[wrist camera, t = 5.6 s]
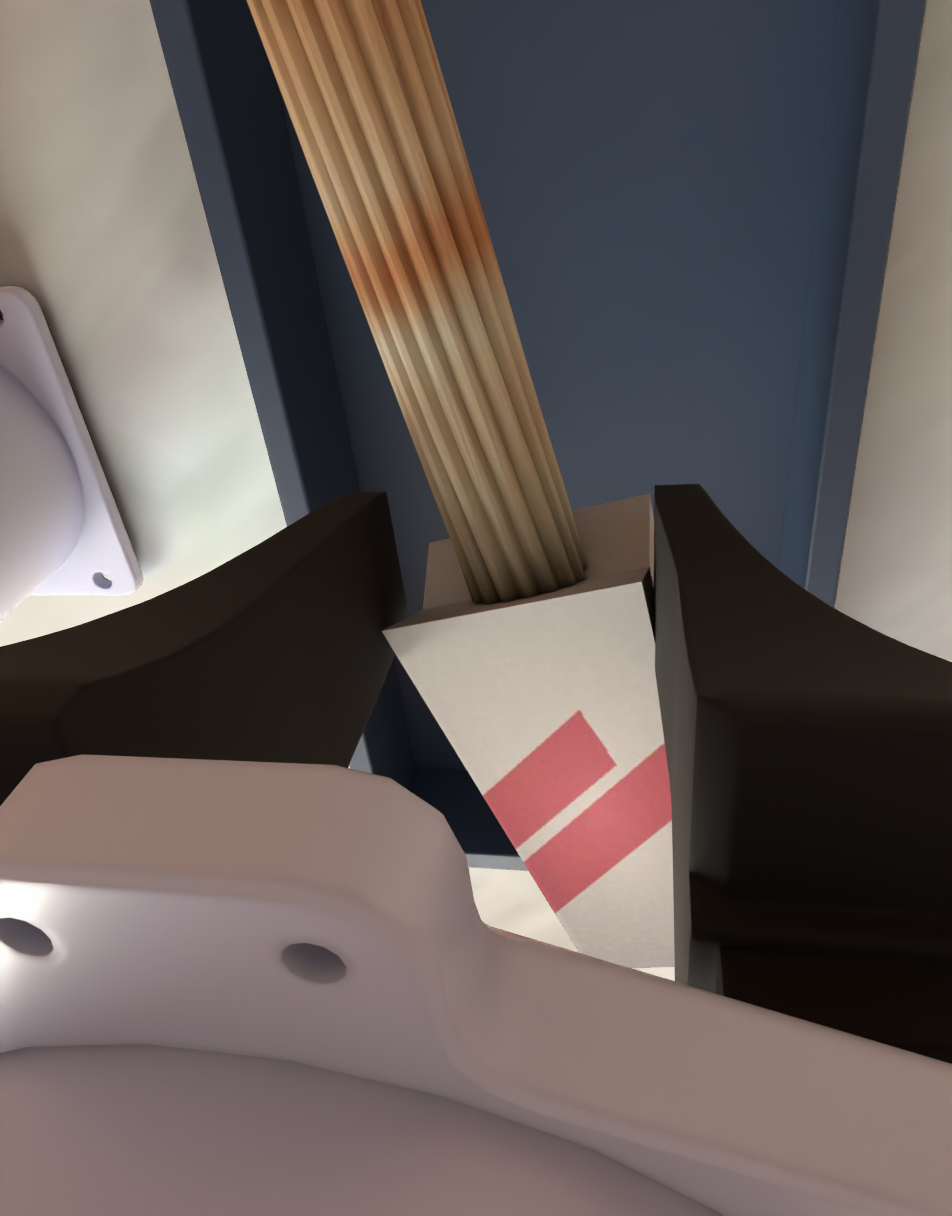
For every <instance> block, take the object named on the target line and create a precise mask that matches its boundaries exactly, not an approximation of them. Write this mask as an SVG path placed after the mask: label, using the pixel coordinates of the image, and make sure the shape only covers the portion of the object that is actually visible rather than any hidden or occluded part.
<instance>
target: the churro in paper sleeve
mask: <svg viewBox="0 0 952 1216" xmlns="http://www.w3.org/2000/svg"><path fill="white" fill-rule="evenodd" d="M247 3H248V6H249V8H250V11H251V14H252V16H253V19H254V22H255V24H256V27H257V30H258V32H259V35H260V37H261V40H262V43H263V45H264V48H265V51H266V53H267V56H268V59H269V61H270V64H271V67H272V69H273V72H274V75H275V77H276V80H277V83H278V85H279V88H280V91H281V93H282V96H283V99H284V101H285V104H286V107H287V109H288V112H289V115H290V117H291V120H292V123H293V125H294V128H295V131H296V133H297V136H298V139H299V141H300V144H301V147H302V149H303V152H304V155H305V157H306V160H307V163H308V165H309V168H310V171H311V173H312V176H313V179H314V181H315V184H316V186H317V189H318V192H319V194H320V197H321V200H322V202H323V205H324V208H325V210H326V213H327V216H328V218H329V221H330V223H331V226H332V229H333V231H334V234H335V237H336V239H337V242H338V245H339V247H340V250H341V253H342V255H343V258H344V260H345V263H346V266H347V268H348V271H349V274H350V276H351V279H352V282H353V284H354V287H355V289H356V292H357V295H358V297H359V300H360V303H361V305H362V308H363V311H364V313H365V316H366V319H367V321H368V324H369V326H370V329H371V332H372V334H373V337H374V340H375V342H376V345H377V348H378V350H379V353H380V356H381V358H382V361H383V363H384V366H385V369H386V371H387V374H388V377H389V379H390V382H391V385H392V387H393V390H394V393H395V395H396V398H397V400H398V403H399V406H400V408H401V411H402V414H403V416H404V419H405V422H406V424H407V427H408V430H409V432H410V435H411V437H412V440H413V443H414V445H415V448H416V451H417V453H418V456H419V459H420V461H421V464H422V466H423V469H424V472H425V474H426V477H427V480H428V482H429V485H430V488H431V490H432V493H433V495H434V498H435V500H436V503H437V506H438V508H439V511H440V513H441V516H442V518H443V521H444V524H445V526H446V529H447V531H448V534H449V536H450V538H449V539H444V540H440V541H436V542H431V543H429V550H428V561H427V571H426V581H425V592H424V602H423V609H422V610H420V611H419V612H417V613H415V614H413V615H411V616H409V617H407V618H405V619H403V620H402V621H400V622H398V623H396V624H394V625H392V626H390V627H388V628H386V629H385V630H383V631H382V633H383V634H384V636H385V637H386V639H387V641H388V642H389V644H390V646H391V647H392V649H393V650H394V652H395V654H396V655H397V657H398V659H399V660H400V662H401V664H402V665H403V667H404V668H405V670H406V672H407V673H408V675H409V677H410V678H411V680H412V681H413V683H414V685H415V686H416V688H417V690H418V691H419V693H420V694H421V696H422V698H423V699H424V701H425V703H426V704H427V706H428V708H429V709H430V711H431V712H432V714H433V716H434V717H435V719H436V721H437V722H438V724H439V725H440V727H441V729H442V730H443V732H444V734H445V735H446V737H447V738H448V740H449V742H450V743H451V745H452V747H453V748H454V750H455V751H456V753H457V755H458V756H459V758H460V760H461V761H462V763H463V765H464V766H465V768H466V769H467V771H468V773H469V774H470V776H471V778H472V779H473V781H474V782H475V784H476V786H477V787H478V789H479V791H480V792H481V794H482V795H483V797H484V799H485V800H486V802H487V804H488V805H489V807H490V808H491V810H492V812H493V813H494V815H495V817H496V818H497V820H498V822H499V823H500V825H501V826H502V828H503V830H504V831H505V833H506V835H507V836H508V838H509V839H510V841H511V843H512V844H513V846H514V848H515V849H516V851H517V852H518V854H519V856H520V857H521V859H522V861H523V862H524V864H525V865H526V867H527V869H528V870H529V872H530V874H531V875H532V877H533V879H534V880H535V882H536V883H537V885H538V887H539V888H540V890H541V892H542V893H543V895H544V896H545V898H546V900H547V901H548V903H549V905H550V906H551V908H552V909H553V911H554V913H555V914H556V916H557V918H558V919H559V921H560V923H561V924H562V926H563V927H564V929H565V931H566V932H567V934H568V936H569V937H570V939H571V940H572V942H573V944H574V945H575V947H576V949H577V950H578V952H579V953H581V954H584V955H588V956H591V957H594V958H598V959H601V960H604V961H608V962H611V963H615V964H618V965H621V966H625V967H628V968H650V967H673V966H675V955H674V900H673V850H672V806H671V793H670V781H669V772H668V765H667V757H666V750H665V742H664V735H663V727H662V720H661V712H660V705H659V697H658V689H657V682H656V674H655V635H654V517H653V511H652V505H651V498H650V494H645V495H641V496H636V497H632V498H628V499H623V500H619V501H614V502H610V503H605V504H601V505H596V506H592V507H587V508H583V509H578V510H574V511H572V510H571V506H570V502H569V499H568V496H567V492H566V489H565V486H564V483H563V479H562V476H561V473H560V470H559V466H558V463H557V460H556V457H555V453H554V450H553V447H552V444H551V441H550V437H549V434H548V431H547V428H546V424H545V421H544V418H543V415H542V411H541V408H540V405H539V402H538V398H537V395H536V392H535V389H534V386H533V382H532V379H531V376H530V373H529V369H528V366H527V362H526V358H525V355H524V351H523V348H522V344H521V341H520V337H519V334H518V330H517V327H516V323H515V320H514V316H513V313H512V309H511V306H510V303H509V299H508V296H507V292H506V289H505V286H504V282H503V279H502V276H501V272H500V269H499V265H498V262H497V259H496V255H495V252H494V248H493V245H492V242H491V238H490V235H489V231H488V228H487V225H486V221H485V218H484V214H483V211H482V208H481V204H480V201H479V197H478V194H477V191H476V187H475V184H474V180H473V177H472V174H471V170H470V167H469V163H468V160H467V157H466V153H465V150H464V146H463V143H462V140H461V136H460V133H459V129H458V126H457V123H456V119H455V116H454V112H453V109H452V106H451V102H450V99H449V95H448V92H447V89H446V85H445V82H444V78H443V75H442V72H441V68H440V65H439V61H438V58H437V55H436V51H435V48H434V44H433V41H432V38H431V34H430V31H429V27H428V24H427V21H426V17H425V14H424V10H423V7H422V4H421V0H247Z"/></svg>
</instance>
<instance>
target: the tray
mask: <svg viewBox="0 0 952 1216" xmlns="http://www.w3.org/2000/svg"><path fill="white" fill-rule="evenodd" d="M926 2H927V0H421V4H422V7H423V10H424V14H425V17H426V21H427V24H428V27H429V31H430V34H431V38H432V41H433V44H434V48H435V51H436V55H437V58H438V61H439V65H440V68H441V72H442V75H443V78H444V82H445V85H446V89H447V92H448V95H449V99H450V102H451V106H452V109H453V112H454V116H455V119H456V123H457V126H458V129H459V133H460V136H461V140H462V143H463V146H464V150H465V153H466V157H467V160H468V163H469V167H470V170H471V174H472V177H473V180H474V184H475V187H476V191H477V194H478V197H479V201H480V204H481V208H482V211H483V214H484V218H485V221H486V225H487V228H488V231H489V235H490V238H491V242H492V245H493V248H494V252H495V255H496V259H497V262H498V265H499V269H500V272H501V276H502V279H503V282H504V286H505V289H506V292H507V296H508V299H509V303H510V306H511V309H512V313H513V316H514V320H515V323H516V327H517V330H518V334H519V337H520V341H521V344H522V348H523V351H524V355H525V358H526V362H527V366H528V369H529V373H530V376H531V379H532V382H533V386H534V389H535V392H536V395H537V398H538V402H539V405H540V408H541V411H542V415H543V418H544V421H545V424H546V428H547V431H548V434H549V437H550V441H551V444H552V447H553V450H554V453H555V457H556V460H557V463H558V466H559V470H560V473H561V476H562V479H563V483H564V486H565V489H566V492H567V496H568V499H569V502H570V506H571V510H572V511H574V510H578V509H583V508H587V507H592V506H596V505H601V504H605V503H610V502H614V501H619V500H623V499H628V498H632V497H636V496H641V495H645V494H650V498H651V505H652V511H653V517H654V495H655V485H677V484H699V485H700V486H701V487H702V488H703V489H704V490H705V491H706V492H707V493H708V494H709V496H710V497H711V498H712V500H713V501H714V502H715V504H716V505H717V506H718V508H719V509H720V510H721V511H722V512H723V514H724V515H725V516H726V517H727V518H728V520H729V521H730V522H731V523H732V524H733V525H734V527H735V528H736V529H737V530H738V531H739V532H740V533H741V534H742V535H743V536H744V537H745V538H746V539H747V540H748V541H749V542H750V544H751V545H752V546H753V547H754V548H755V549H756V550H757V551H758V552H759V553H760V554H761V555H762V556H764V557H765V558H766V559H767V560H768V561H769V562H770V563H772V564H773V565H774V566H775V567H776V568H777V569H779V570H780V571H781V572H782V573H783V574H785V575H786V576H787V577H789V578H790V579H791V580H793V581H794V582H795V583H797V584H798V585H799V586H801V587H802V588H804V589H805V590H807V591H808V592H810V593H811V594H813V595H814V596H816V597H817V598H819V599H820V600H822V601H823V602H825V603H826V604H828V605H830V606H831V607H833V608H834V607H835V600H836V594H837V587H838V580H839V574H840V567H841V561H842V554H843V548H844V541H845V534H846V528H847V521H848V515H849V508H850V502H851V495H852V488H853V482H854V475H855V469H856V462H857V456H858V449H859V442H860V436H861V429H862V423H863V416H864V410H865V403H866V396H867V390H868V383H869V377H870V370H871V363H872V357H873V350H874V344H875V337H876V331H877V324H878V317H879V311H880V304H881V298H882V291H883V285H884V278H885V271H886V265H887V258H888V252H889V245H890V239H891V232H892V225H893V219H894V212H895V206H896V199H897V193H898V186H899V179H900V173H901V166H902V160H903V153H904V147H905V140H906V133H907V127H908V120H909V114H910V107H911V100H912V94H913V87H914V81H915V74H916V68H917V61H918V54H919V48H920V41H921V35H922V28H923V22H924V15H925V8H926ZM150 4H151V8H152V11H153V15H154V19H155V23H156V27H157V31H158V34H159V38H160V42H161V46H162V50H163V53H164V57H165V61H166V65H167V69H168V73H169V76H170V80H171V84H172V88H173V92H174V96H175V99H176V103H177V107H178V111H179V115H180V118H181V122H182V126H183V130H184V134H185V138H186V141H187V145H188V149H189V153H190V157H191V161H192V164H193V168H194V172H195V176H196V180H197V183H198V187H199V191H200V195H201V199H202V203H203V206H204V210H205V214H206V218H207V222H208V226H209V229H210V233H211V237H212V241H213V245H214V249H215V252H216V256H217V260H218V264H219V268H220V271H221V275H222V279H223V283H224V287H225V291H226V294H227V298H228V302H229V306H230V310H231V314H232V317H233V321H234V325H235V329H236V333H237V336H238V340H239V344H240V348H241V352H242V356H243V359H244V363H245V367H246V371H247V375H248V379H249V382H250V386H251V390H252V394H253V398H254V401H255V405H256V409H257V413H258V417H259V421H260V424H261V428H262V432H263V436H264V440H265V444H266V447H267V451H268V455H269V459H270V463H271V467H272V470H273V474H274V478H275V482H276V486H277V489H278V493H279V497H280V501H281V505H282V509H283V512H284V516H285V520H286V524H287V527H288V526H289V525H291V524H293V523H294V522H296V521H298V520H299V519H301V518H302V517H304V516H306V515H307V514H309V513H311V512H312V511H314V510H316V509H317V508H319V507H321V506H322V505H324V504H326V503H328V502H329V501H331V500H333V499H335V498H337V497H339V496H342V495H344V494H346V493H356V492H386V493H387V498H388V503H389V509H390V514H391V520H392V525H393V531H394V536H395V542H396V547H397V553H398V558H399V563H400V569H401V574H402V580H403V585H404V591H405V596H406V602H407V607H406V611H405V616H404V619H405V618H407V617H409V616H411V615H413V614H415V613H417V612H419V611H420V610H422V609H423V602H424V592H425V581H426V571H427V561H428V550H429V543H431V542H436V541H440V540H444V539H449V538H450V536H449V534H448V531H447V529H446V526H445V524H444V521H443V518H442V516H441V513H440V511H439V508H438V506H437V503H436V500H435V498H434V495H433V493H432V490H431V488H430V485H429V482H428V480H427V477H426V474H425V472H424V469H423V466H422V464H421V461H420V459H419V456H418V453H417V451H416V448H415V445H414V443H413V440H412V437H411V435H410V432H409V430H408V427H407V424H406V422H405V419H404V416H403V414H402V411H401V408H400V406H399V403H398V400H397V398H396V395H395V393H394V390H393V387H392V385H391V382H390V379H389V377H388V374H387V371H386V369H385V366H384V363H383V361H382V358H381V356H380V353H379V350H378V348H377V345H376V342H375V340H374V337H373V334H372V332H371V329H370V326H369V324H368V321H367V319H366V316H365V313H364V311H363V308H362V305H361V303H360V300H359V297H358V295H357V292H356V289H355V287H354V284H353V282H352V279H351V276H350V274H349V271H348V268H347V266H346V263H345V260H344V258H343V255H342V253H341V250H340V247H339V245H338V242H337V239H336V237H335V234H334V231H333V229H332V226H331V223H330V221H329V218H328V216H327V213H326V210H325V208H324V205H323V202H322V200H321V197H320V194H319V192H318V189H317V186H316V184H315V181H314V179H313V176H312V173H311V171H310V168H309V165H308V163H307V160H306V157H305V155H304V152H303V149H302V147H301V144H300V141H299V139H298V136H297V133H296V131H295V128H294V125H293V123H292V120H291V117H290V115H289V112H288V109H287V107H286V104H285V101H284V99H283V96H282V93H281V91H280V88H279V85H278V83H277V80H276V77H275V75H274V72H273V69H272V67H271V64H270V61H269V59H268V56H267V53H266V51H265V48H264V45H263V43H262V40H261V37H260V35H259V32H258V30H257V27H256V24H255V22H254V19H253V16H252V14H251V11H250V8H249V6H248V3H247V0H150ZM349 765H350V769H354V770H358V771H362V772H366V773H371V774H375V775H379V776H384V777H388V778H391V779H393V780H394V781H396V782H397V783H398V784H400V785H401V786H403V787H404V788H406V789H407V790H409V791H410V792H412V793H413V794H415V795H416V796H418V797H419V798H421V799H422V800H424V801H425V802H427V803H428V804H430V805H431V806H432V807H434V808H435V809H437V810H438V811H439V812H441V813H442V814H443V815H444V817H445V819H446V821H447V823H448V824H449V826H450V828H451V830H452V832H453V833H454V835H455V837H456V839H457V841H458V842H459V844H460V846H461V848H462V850H463V852H464V853H465V855H466V857H467V863H468V867H474V868H490V869H505V870H521V871H529V870H528V869H527V867H526V865H525V864H524V862H523V861H522V859H521V857H520V856H519V854H518V852H517V851H516V849H515V848H514V846H513V844H512V843H511V841H510V839H509V838H508V836H507V835H506V833H505V831H504V830H503V828H502V826H501V825H500V823H499V822H498V820H497V818H496V817H495V815H494V813H493V812H492V810H491V808H490V807H489V805H488V804H487V802H486V800H485V799H484V797H483V795H482V794H481V792H480V791H479V789H478V787H477V786H476V784H475V782H474V781H473V779H472V778H471V776H470V774H469V773H468V771H467V769H466V768H465V766H464V765H463V763H462V761H461V760H460V758H459V756H458V755H457V753H456V751H455V750H454V748H453V747H452V745H451V743H450V742H449V740H448V738H447V737H446V735H445V734H444V732H443V730H442V729H441V727H440V725H439V724H438V722H437V721H436V719H435V717H434V716H433V714H432V712H431V711H430V709H429V708H428V706H427V704H426V703H425V701H424V699H423V698H422V696H421V694H420V693H419V691H418V690H417V688H416V686H415V685H414V683H413V681H412V680H411V678H410V677H409V675H408V673H407V672H406V670H405V668H404V667H403V665H402V664H401V662H400V660H399V659H398V657H397V655H396V654H395V656H394V659H393V661H392V664H391V666H390V669H389V671H388V674H387V676H386V679H385V681H384V683H383V686H382V688H381V691H380V693H379V696H378V698H377V700H376V703H375V705H374V707H373V710H372V712H371V714H370V717H369V719H368V722H367V724H366V726H365V729H364V731H363V733H362V736H361V738H360V740H359V743H358V745H357V748H356V750H355V752H354V755H353V757H352V759H351V762H350V764H349Z"/></svg>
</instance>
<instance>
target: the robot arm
mask: <svg viewBox="0 0 952 1216" xmlns="http://www.w3.org/2000/svg"><path fill="white" fill-rule="evenodd" d="M0 311H1V312H2V314H3V319H4V321H2V320H1V319H0V622H1V621H2V620H3V619H4V618H5V617H6V616H7V615H8V614H9V613H10V612H11V611H12V610H14V609H15V608H16V607H17V606H18V605H19V604H20V603H21V602H22V601H23V600H24V599H25V598H27V597H28V596H29V595H129V594H132V593H134V592H135V591H136V590H137V589H138V588H139V587H140V586H141V585H142V582H143V575H142V572H141V569H140V566H139V564H138V561H137V558H136V556H135V553H134V551H133V548H132V545H131V543H130V540H129V537H128V535H127V532H126V530H125V527H124V524H123V522H122V519H121V517H120V514H119V511H118V509H117V506H116V503H115V501H114V498H113V496H112V493H111V490H110V488H109V485H108V482H107V480H106V477H105V475H104V472H103V469H102V467H101V464H100V462H99V459H98V456H97V454H96V451H95V448H94V446H93V443H92V441H91V438H90V435H89V433H88V430H87V427H86V425H85V422H84V420H83V417H82V414H81V412H80V409H79V407H78V404H77V401H76V399H75V396H74V393H73V391H72V388H71V386H70V383H69V380H68V378H67V375H66V372H65V370H64V367H63V365H62V362H61V359H60V357H59V354H58V352H57V349H56V346H55V344H54V341H53V338H52V336H51V333H50V331H49V328H48V325H47V323H46V320H45V317H44V315H43V312H42V310H41V307H40V305H39V304H38V302H37V300H36V299H35V298H34V297H33V296H32V295H31V293H30V292H28V291H27V290H25V289H23V288H21V287H16V286H6V287H0ZM101 572H102V573H104V574H106V575H107V576H109V578H110V579H111V580H108V579H106V578H105V577H104V576H103V575H102V573H101ZM406 607H407V602H406V596H405V591H404V585H403V580H402V574H401V569H400V563H399V558H398V553H397V547H396V542H395V536H394V531H393V525H392V520H391V514H390V509H389V503H388V498H387V493H386V492H356V493H346V494H344V495H342V496H339V497H337V498H335V499H333V500H331V501H329V502H328V503H326V504H324V505H322V506H321V507H319V508H317V509H316V510H314V511H312V512H311V513H309V514H307V515H306V516H304V517H302V518H301V519H299V520H298V521H296V522H294V523H293V524H291V525H289V526H288V527H286V528H285V529H283V530H281V531H280V532H278V533H276V534H275V535H273V536H272V537H270V538H268V539H267V540H265V541H263V542H262V543H260V544H258V545H257V546H255V547H253V548H251V549H249V550H248V551H246V552H244V553H242V554H241V555H239V556H237V557H235V558H233V559H232V560H230V561H228V562H226V563H224V564H223V565H221V566H219V567H217V568H216V569H214V570H212V571H210V572H208V573H206V574H204V575H202V576H200V577H198V578H196V579H194V580H192V581H190V582H188V583H186V584H184V585H182V586H179V587H177V588H175V589H173V590H170V591H168V592H166V593H164V594H161V595H159V596H157V597H155V598H152V599H150V600H147V601H145V602H143V603H140V604H137V605H135V606H132V607H129V608H126V609H123V610H121V611H118V612H115V613H112V614H109V615H107V616H104V617H101V618H98V619H95V620H93V621H90V622H87V623H84V624H81V625H78V626H75V627H72V628H69V629H65V630H62V631H58V632H55V633H51V634H48V635H45V636H41V637H37V638H33V639H30V640H26V641H22V642H18V643H14V644H10V645H6V646H2V647H0V1216H952V662H949V661H947V660H944V659H942V658H939V657H936V656H934V655H931V654H929V653H926V652H924V651H921V650H919V649H916V648H913V647H911V646H908V645H906V644H904V643H902V642H899V641H897V640H895V639H893V638H890V637H888V636H886V635H884V634H882V633H879V632H877V631H876V630H874V629H872V628H870V627H868V626H866V625H864V624H862V623H860V622H858V621H856V620H854V619H853V618H851V617H849V616H847V615H845V614H843V613H841V612H840V611H838V610H836V609H835V608H833V607H831V606H830V605H828V604H826V603H825V602H823V601H822V600H820V599H819V598H817V597H816V596H814V595H813V594H811V593H810V592H808V591H807V590H805V589H804V588H802V587H801V586H799V585H798V584H797V583H795V582H794V581H793V580H791V579H790V578H789V577H787V576H786V575H785V574H783V573H782V572H781V571H780V570H779V569H777V568H776V567H775V566H774V565H773V564H772V563H770V562H769V561H768V560H767V559H766V558H765V557H764V556H762V555H761V554H760V553H759V552H758V551H757V550H756V549H755V548H754V547H753V546H752V545H751V544H750V542H749V541H748V540H747V539H746V538H745V537H744V536H743V535H742V534H741V533H740V532H739V531H738V530H737V529H736V528H735V527H734V525H733V524H732V523H731V522H730V521H729V520H728V518H727V517H726V516H725V515H724V514H723V512H722V511H721V510H720V509H719V508H718V506H717V505H716V504H715V502H714V501H713V500H712V498H711V497H710V496H709V494H708V493H707V492H706V491H705V490H704V489H703V488H702V487H701V486H700V485H699V484H677V485H655V495H654V635H655V674H656V682H657V689H658V697H659V705H660V712H661V720H662V727H663V735H664V742H665V750H666V757H667V765H668V772H669V781H670V793H671V806H672V850H673V900H674V955H675V981H672V980H668V979H665V978H661V977H658V976H655V975H651V974H648V973H645V972H641V971H638V970H635V969H631V968H628V967H625V966H621V965H618V964H615V963H611V962H608V961H604V960H601V959H598V958H594V957H591V956H588V955H584V954H581V953H578V952H574V951H571V950H568V949H564V948H561V947H557V946H554V945H551V944H547V943H544V942H541V941H537V940H534V939H531V938H527V937H524V936H521V935H517V934H514V933H510V932H507V931H504V930H500V929H497V928H494V927H490V926H488V925H487V924H485V923H484V922H482V920H481V919H480V916H479V913H478V910H477V908H476V905H475V902H474V898H473V892H472V886H471V881H470V875H469V869H468V863H467V857H466V855H465V853H464V852H463V850H462V848H461V846H460V844H459V842H458V841H457V839H456V837H455V835H454V833H453V832H452V830H451V828H450V826H449V824H448V823H447V821H446V819H445V817H444V815H443V814H442V813H441V812H439V811H438V810H437V809H435V808H434V807H432V806H431V805H430V804H428V803H427V802H425V801H424V800H422V799H421V798H419V797H418V796H416V795H415V794H413V793H412V792H410V791H409V790H407V789H406V788H404V787H403V786H401V785H400V784H398V783H397V782H396V781H394V780H393V779H391V778H388V777H384V776H379V775H375V774H371V773H366V772H362V771H358V770H354V769H349V768H348V767H349V764H350V762H351V759H352V757H353V755H354V752H355V750H356V748H357V745H358V743H359V740H360V738H361V736H362V733H363V731H364V729H365V726H366V724H367V722H368V719H369V717H370V714H371V712H372V710H373V707H374V705H375V703H376V700H377V698H378V696H379V693H380V691H381V688H382V686H383V683H384V681H385V679H386V676H387V674H388V671H389V669H390V666H391V664H392V661H393V659H394V656H395V652H394V650H393V649H392V647H391V646H390V644H389V642H388V641H387V639H386V637H385V636H384V634H383V633H382V631H383V630H385V629H386V628H388V627H390V626H392V625H394V624H396V623H398V622H400V621H402V620H403V619H404V616H405V611H406Z"/></svg>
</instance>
